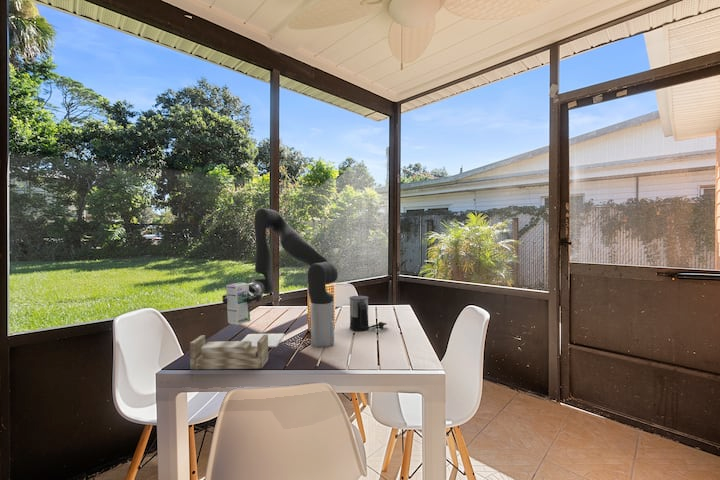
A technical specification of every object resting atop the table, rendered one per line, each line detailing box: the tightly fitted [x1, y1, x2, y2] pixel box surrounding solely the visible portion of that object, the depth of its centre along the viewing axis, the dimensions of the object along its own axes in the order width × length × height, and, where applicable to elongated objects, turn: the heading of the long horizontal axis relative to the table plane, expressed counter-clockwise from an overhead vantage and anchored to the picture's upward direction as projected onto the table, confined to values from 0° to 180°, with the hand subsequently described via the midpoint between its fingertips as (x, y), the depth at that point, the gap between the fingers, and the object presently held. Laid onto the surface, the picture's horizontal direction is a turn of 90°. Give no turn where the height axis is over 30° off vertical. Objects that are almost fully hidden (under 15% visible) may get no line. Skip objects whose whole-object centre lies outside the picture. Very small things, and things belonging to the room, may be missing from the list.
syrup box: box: [225, 282, 251, 326], centre depth 124 cm, size 6×6×14 cm
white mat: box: [241, 333, 285, 349], centre depth 140 cm, size 16×16×1 cm
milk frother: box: [348, 295, 387, 332], centre depth 157 cm, size 14×16×15 cm
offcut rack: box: [189, 334, 269, 370], centre depth 116 cm, size 24×8×9 cm, turn 91°
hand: (236, 301), depth 122 cm, fingers closed on syrup box, 8 cm apart
